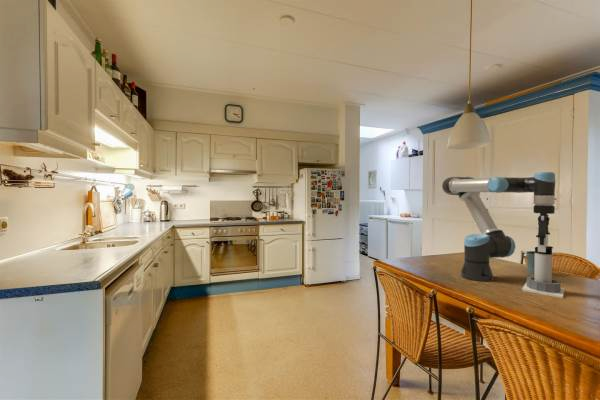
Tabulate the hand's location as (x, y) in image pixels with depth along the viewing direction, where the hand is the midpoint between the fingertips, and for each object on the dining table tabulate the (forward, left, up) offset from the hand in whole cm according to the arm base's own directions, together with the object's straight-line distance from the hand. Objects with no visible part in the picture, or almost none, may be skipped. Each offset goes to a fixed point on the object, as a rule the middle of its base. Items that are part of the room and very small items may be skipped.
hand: (543, 249), depth 132 cm
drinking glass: (-5, +37, -20) cm, 42 cm away
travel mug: (0, 0, -18) cm, 18 cm away
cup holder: (0, 0, -19) cm, 19 cm away
